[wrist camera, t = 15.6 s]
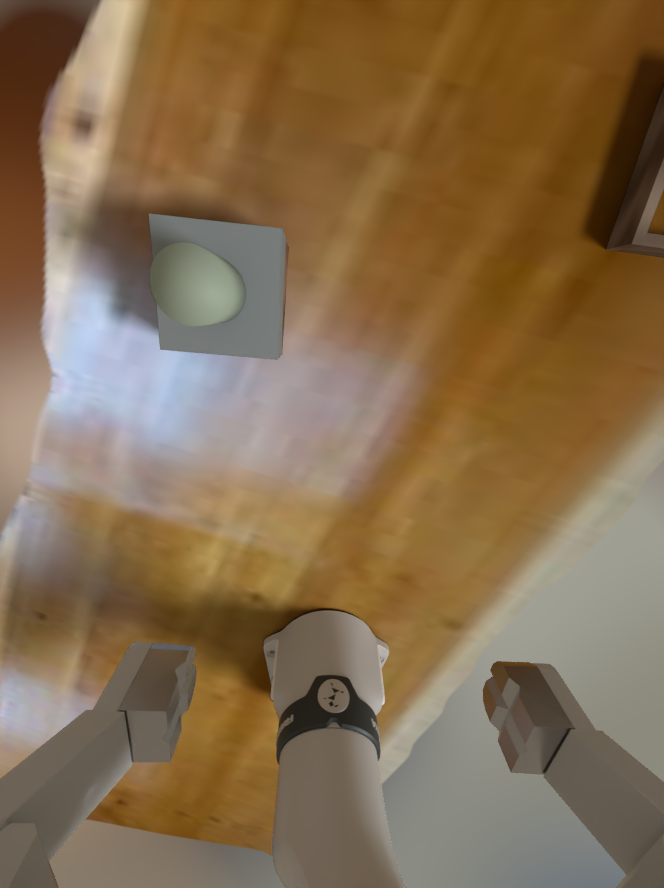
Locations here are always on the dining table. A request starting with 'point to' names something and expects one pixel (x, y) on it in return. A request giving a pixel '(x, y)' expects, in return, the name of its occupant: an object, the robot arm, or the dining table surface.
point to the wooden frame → (643, 195)
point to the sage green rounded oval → (196, 285)
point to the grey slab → (263, 277)
